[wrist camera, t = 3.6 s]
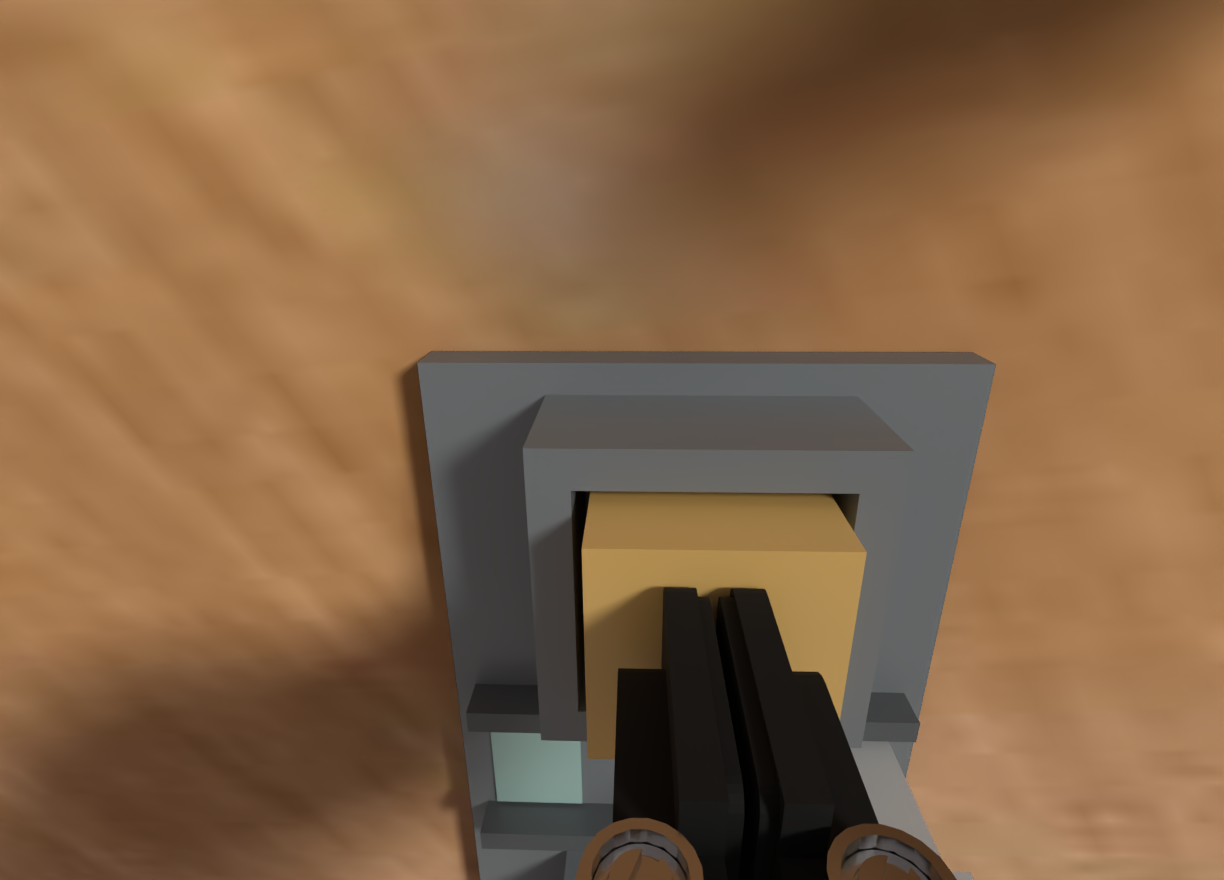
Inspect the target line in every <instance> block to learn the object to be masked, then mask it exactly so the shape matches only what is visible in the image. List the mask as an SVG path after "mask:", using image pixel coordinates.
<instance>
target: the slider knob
mask: <svg viewBox="0 0 1224 880" xmlns="http://www.w3.org/2000/svg"><path fill="white" fill-rule="evenodd" d="M850 749H851V751H852V754H853V757H854V759H855V762H856V765H857V767H858V770H859V772H860V775H861V778H862V780H863V783H864V786H865V788H866V791H867V794H868V796H869V799H870V801H871V804H872V807H873V809H874V812H875V815H876V817H877V820H878V823H879V824H883V825H886V826H890V827H893V828H896V829H900V830H903V831H904V832H906V833H908V834H910V835H912V836H913V837H915V838H917V839H919V840H921V841H922V842H923V843H924V844H926V845H927V846H928V847H929V848H930V849H932V850H933V851H934V852H935V853H936V854H937V855H939V856H940V854H939V852H938V850H937V848H936V845H935V843H934V841H933V839H932V836H931V834H930V832H929V830H928V828H927V825H926V823H925V821H924V819H923V816H922V814H921V812H920V810H919V807H918V805H917V803H916V801H915V799H914V796H913V794H912V792H911V790H910V787H909V785H908V783H907V781H906V779H905V776H904V774H903V772H902V770H901V767H900V765H899V763H898V761H897V759H896V756H895V754H894V752H893V750H892V747H891V745H890V743H889V742H882V741H862V747H861V748H850ZM940 858H941V856H940ZM952 873H953V874H954V876H955V878H956V879H957V880H974V879H973V877H972V875H971V873H970V872H952Z"/></svg>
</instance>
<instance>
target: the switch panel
mask: <svg viewBox="0 0 1224 880" xmlns="http://www.w3.org/2000/svg"><path fill="white" fill-rule="evenodd" d="M417 365H418V373H419V381H420V389H421V398H422V406H423V414H424V422H425V430H426V439H427V447H428V455H429V463H430V471H431V480H432V488H433V496H434V504H435V512H436V521H437V529H438V537H439V545H440V553H441V562H442V570H443V578H444V586H445V594H446V603H447V611H448V619H449V627H450V635H451V644H452V652H453V660H454V668H455V676H456V685H457V693H458V701H459V709H460V717H461V726H462V734H463V742H464V750H465V758H466V767H467V775H468V783H469V791H470V799H471V807H472V816H473V824H474V832H475V840H476V848H477V857H478V865H479V873H480V880H575V878H576V874H577V870H578V865H579V862H580V860H581V858H582V855H583V853H584V850H585V848H586V846H587V845H588V844H589V842H590V841H591V840H592V839H593V838H594V836H595V835H596V834H597V833H598V832H599V831H601V830H602V829H604V828H606V827H607V826H609V825H610V824H612V823H613V795H614V767H615V759H588V756H587V721H586V685H585V650H584V615H583V580H582V543H583V536H584V530H585V523H586V517H587V510H588V504H589V497H590V491H629V492H731V493H830V494H831V495H832V497H833V499H834V500H835V502H836V503H837V505H838V507H839V508H840V510H841V511H842V513H843V515H844V516H845V518H846V520H847V521H848V523H849V524H850V526H851V528H852V529H853V531H854V532H855V534H856V536H857V537H858V539H859V541H860V542H861V544H862V545H863V547H864V549H865V550H866V552H867V554H866V561H865V567H864V573H863V579H862V586H861V592H860V598H859V604H858V611H857V617H856V623H855V629H854V636H853V642H852V648H851V654H850V661H849V667H848V673H847V679H846V685H845V692H844V698H843V704H842V710H841V717H840V722H841V725H842V728H843V730H844V733H845V736H846V738H847V741H848V743H849V746H850V748H861V747H862V741H882V742H889V743H890V745H891V747H892V750H893V752H894V754H895V756H896V759H897V761H898V763H899V765H900V767H901V770H902V772H903V774H904V776H905V778H906V774H907V769H908V765H909V760H910V756H911V751H912V746H913V742H916V740H917V735H918V730H919V726H920V722H919V720H918V719H919V714H920V710H921V705H922V701H923V696H924V691H925V687H926V682H927V678H928V673H929V669H930V664H931V659H932V655H933V650H934V646H935V641H936V637H937V632H938V627H939V623H940V618H941V614H942V609H943V605H944V600H945V595H946V591H947V586H948V582H949V577H950V572H951V568H952V563H953V559H954V554H955V550H956V545H957V540H958V536H959V531H960V527H961V522H962V518H963V513H964V508H965V504H966V499H967V495H968V490H969V486H970V481H971V476H972V472H973V467H974V463H975V458H976V454H977V449H978V444H979V440H980V435H981V431H982V426H983V422H984V417H985V412H986V408H987V403H988V399H989V394H990V389H991V385H992V380H993V376H994V371H995V367H996V364H995V363H993V362H991V361H989V360H987V359H985V358H983V357H981V356H979V355H977V354H975V353H973V352H539V351H431V352H430V353H429V354H427V355H426V356H425V357H424V358H422V359H421V360H420V361H419V362H418V363H417Z"/></svg>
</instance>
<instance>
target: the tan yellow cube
mask: <svg viewBox="0 0 1224 880" xmlns="http://www.w3.org/2000/svg"><path fill="white" fill-rule="evenodd" d="M866 554H867V552H866V550H865V549H864V547H863V545H862V544H861V542H860V541H859V539H858V537H857V536H856V534H855V532H854V531H853V529H852V528H851V526H850V524H849V523H848V521H847V520H846V518H845V516H844V515H843V513H842V511H841V510H840V508H839V507H838V505H837V503H836V502H835V500H834V499H833V497H832V495H831V494H830V493H731V492H629V491H590V497H589V504H588V510H587V517H586V523H585V530H584V536H583V543H582V580H583V615H584V650H585V685H586V721H587V756H588V759H615V738H616V710H617V681H618V668H632V669H661V660H662V622H663V589H664V587H681V588H696V589H697V593H698V597H709V598H710V602H711V607H712V613H713V619H714V624H715V630H716V621H717V606H718V598H719V597H730V591H731V589H732V588H756V589H765V590H766V592H767V594H768V597H769V600H770V604H771V607H772V610H773V613H774V616H775V619H776V622H777V625H778V628H779V632H780V635H781V638H782V641H783V644H784V647H785V650H786V653H787V657H788V660H789V663H790V666H791V669H792V671H804V672H819V673H820V674H821V675H822V677H823V679H824V681H825V683H826V685H827V688H828V691H829V693H830V696H831V699H832V701H833V704H834V707H835V709H836V712H837V714H838V717H839V720H840V717H841V710H842V704H843V698H844V692H845V685H846V679H847V673H848V667H849V661H850V654H851V648H852V642H853V636H854V629H855V623H856V617H857V611H858V604H859V598H860V592H861V586H862V579H863V573H864V567H865V561H866Z"/></svg>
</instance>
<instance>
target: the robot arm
mask: <svg viewBox="0 0 1224 880" xmlns="http://www.w3.org/2000/svg"><path fill="white" fill-rule="evenodd" d="M575 880H957V879H956V878H955V876H954V874H953V873H952V872H951V871H950V869H949V868H948V867H947V865H946V864H945V863H944V862H943V860H942V859H941V858H940V856H939V855H937V854H936V853H935V852H934V851H933V850H932V849H930V848H929V847H928V846H927V845H926V844H924V843H923V842H922V841H921V840H919V839H917V838H915V837H913V836H912V835H910V834H908V833H906V832H904V831H903V830H900V829H896V828H893V827H890V826H886V825H883V824H879V823H878V820H877V817H876V815H875V812H874V809H873V807H872V804H871V801H870V799H869V796H868V794H867V791H866V788H865V786H864V783H863V780H862V778H861V775H860V772H859V770H858V767H857V765H856V762H855V759H854V757H853V754H852V751H851V749H850V746H849V743H848V741H847V738H846V736H845V733H844V730H843V728H842V725H841V722H840V720H839V717H838V714H837V712H836V709H835V707H834V704H833V701H832V699H831V696H830V693H829V691H828V688H827V685H826V683H825V681H824V679H823V677H822V675H821V674H820V673H819V672H804V671H792V669H791V666H790V663H789V660H788V657H787V653H786V650H785V647H784V644H783V641H782V638H781V635H780V632H779V628H778V625H777V622H776V619H775V616H774V613H773V610H772V607H771V604H770V600H769V597H768V594H767V592H766V590H765V589H756V588H732V589H731V591H730V597H719V598H718V606H717V621H716V630H715V624H714V619H713V613H712V607H711V602H710V598H709V597H698V593H697V589H696V588H681V587H664V589H663V622H662V660H661V669H632V668H618V681H617V710H616V738H615V767H614V795H613V823H612V824H610V825H609V826H607V827H606V828H604V829H602V830H601V831H599V832H598V833H597V834H596V835H595V836H594V838H593V839H592V840H591V841H590V842H589V844H588V845H587V846H586V848H585V850H584V853H583V855H582V858H581V860H580V862H579V865H578V870H577V874H576V878H575Z"/></svg>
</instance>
